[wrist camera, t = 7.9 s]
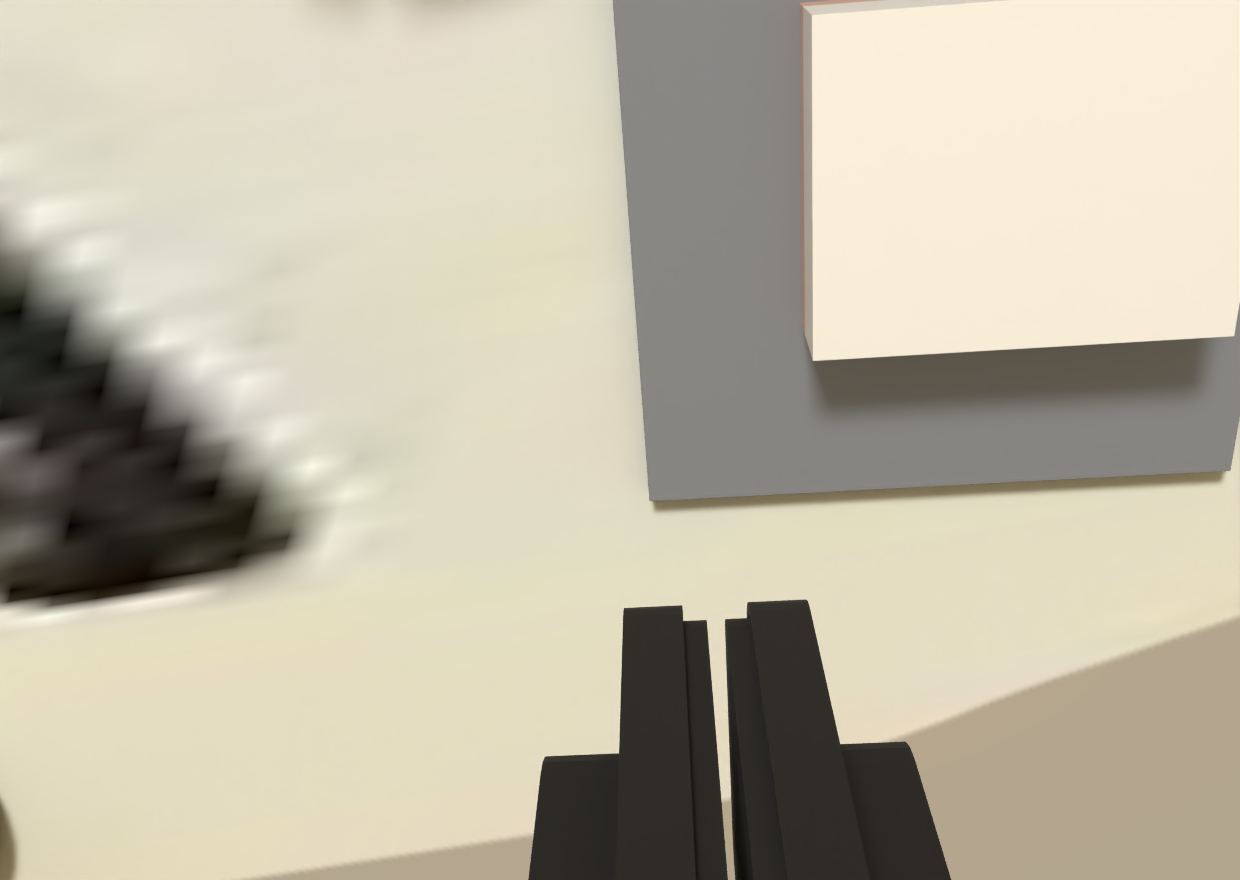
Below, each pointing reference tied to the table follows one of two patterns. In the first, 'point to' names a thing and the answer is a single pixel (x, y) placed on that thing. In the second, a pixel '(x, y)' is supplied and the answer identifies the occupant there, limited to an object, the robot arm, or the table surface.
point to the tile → (1017, 174)
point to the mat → (772, 311)
